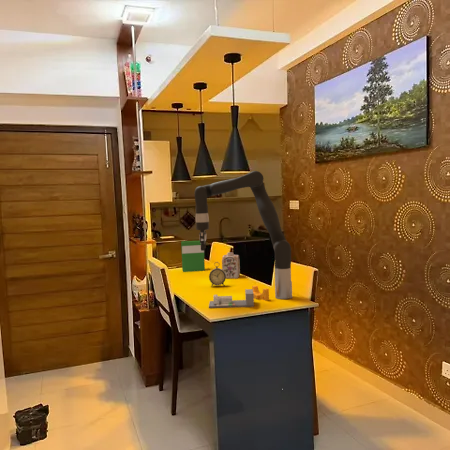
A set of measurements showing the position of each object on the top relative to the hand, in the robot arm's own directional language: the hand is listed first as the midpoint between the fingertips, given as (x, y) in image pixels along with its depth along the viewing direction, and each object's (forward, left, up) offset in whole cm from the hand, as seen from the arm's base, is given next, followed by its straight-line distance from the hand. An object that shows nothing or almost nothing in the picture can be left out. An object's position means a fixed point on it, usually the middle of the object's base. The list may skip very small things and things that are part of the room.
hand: (203, 249), depth 239 cm
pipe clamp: (-31, +1, -30) cm, 43 cm away
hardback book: (+16, -99, -30) cm, 105 cm away
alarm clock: (-6, -36, -30) cm, 47 cm away
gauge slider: (-11, +14, -28) cm, 33 cm away
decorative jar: (-15, -67, -30) cm, 75 cm away
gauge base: (-15, +13, -29) cm, 35 cm away
